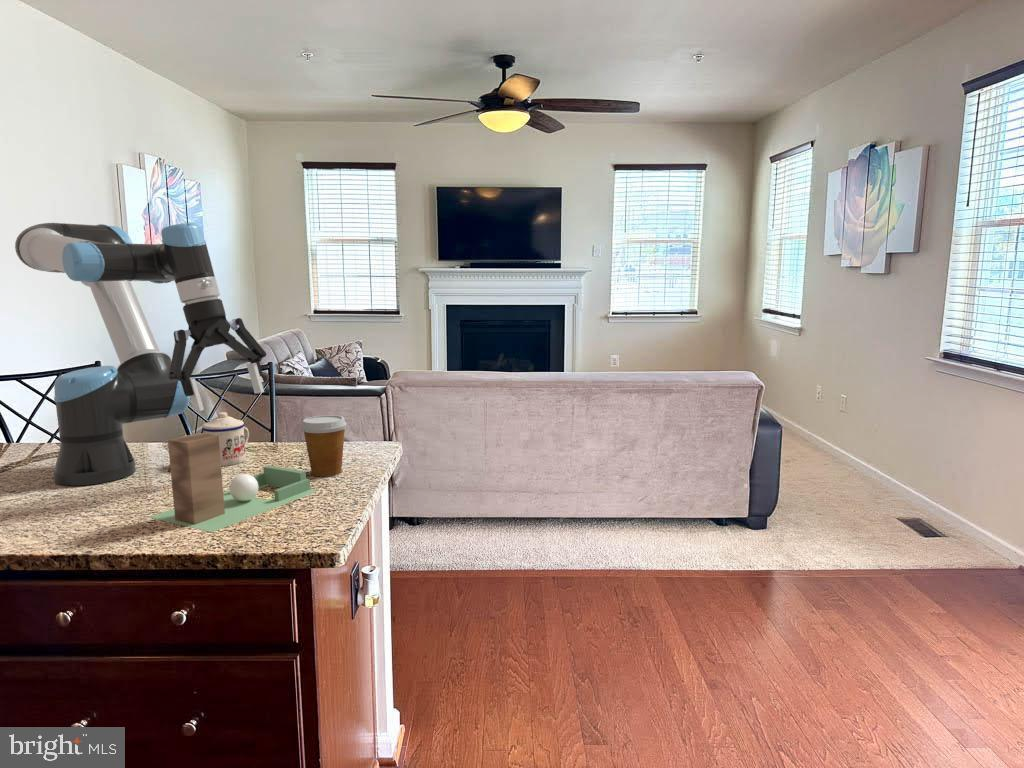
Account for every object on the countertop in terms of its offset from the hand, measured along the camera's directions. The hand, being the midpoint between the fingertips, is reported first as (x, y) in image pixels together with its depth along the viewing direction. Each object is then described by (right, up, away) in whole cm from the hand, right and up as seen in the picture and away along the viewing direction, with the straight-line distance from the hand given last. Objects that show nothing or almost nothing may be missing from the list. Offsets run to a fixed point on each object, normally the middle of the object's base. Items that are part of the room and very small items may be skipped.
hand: (230, 401), depth 141 cm
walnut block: (+5, -19, -24) cm, 31 cm away
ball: (+9, -16, -16) cm, 24 cm away
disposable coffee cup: (+18, -16, +7) cm, 25 cm away
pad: (+9, -20, -17) cm, 27 cm away
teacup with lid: (-7, -15, +18) cm, 25 cm away
